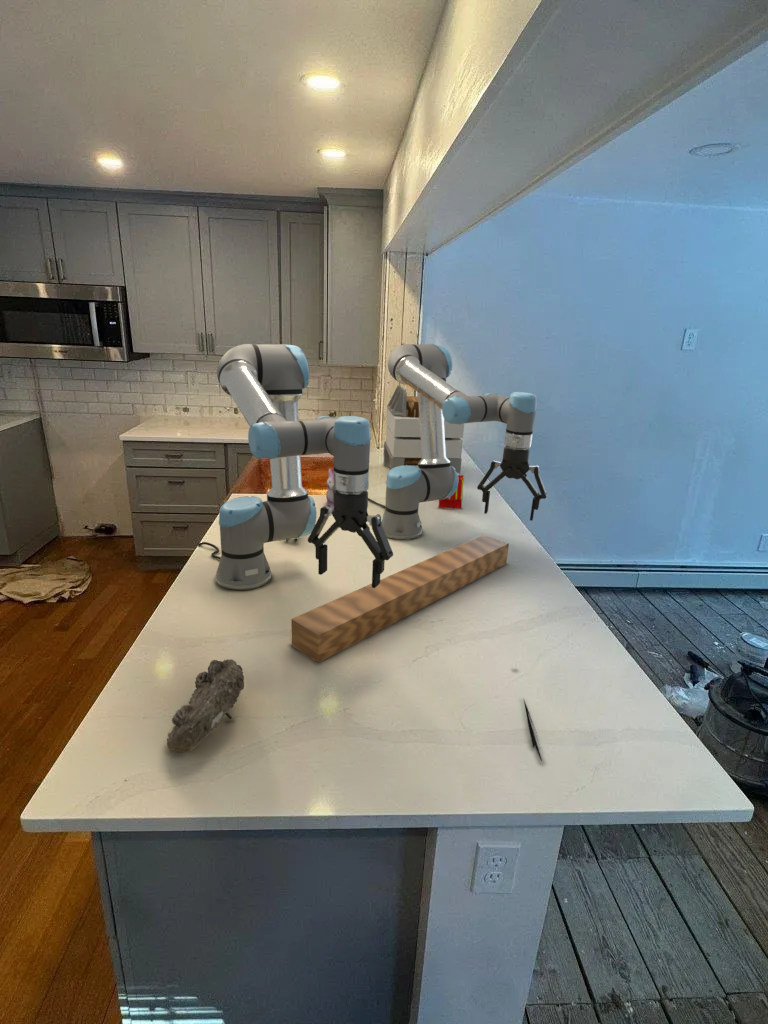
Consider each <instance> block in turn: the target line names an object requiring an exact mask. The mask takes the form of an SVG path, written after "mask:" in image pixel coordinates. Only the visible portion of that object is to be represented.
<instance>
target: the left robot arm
mask: <svg viewBox="0 0 768 1024" xmlns="http://www.w3.org/2000/svg"><path fill="white" fill-rule="evenodd" d="M216 377H217V381H218V384H219V386H220V387H221V389H222V390H223V392H224V393H226V395H228V396H230V397H231V398H232V399H233V402H234V403H235V405H236V406H237V408H238V409H239V411H240V413H241V415H242V416H243V418H244V419H245V421H246V423H247V425H248V426H249V428H248V432H247V441H248V446H249V449H250V453H251V455H252V456H253V457H254V458H256V459H269V465H270V466H269V467H270V482H271V488H270V489H269V490H268V492H267V493H266V501H263V500H262V499H261V497H259V496H254V495H251V496H248V495H245V496H244V495H243V496H238V497H234V498H232V499H229V500H227V501H225V502H224V503H223V504H221V506H220V508H219V512H218V514H219V515H218V526H219V536H220V537H219V538H220V548H219V547H218V546H217V545H215V544H214V543H211V542H207V541H201V542H202V543H201V542H199V543H197V547H200V546H202V545H206V546H210V547H212V548H213V549H215V551H213V552H211V554H210V556H211V557H212V558H213V559H217V560H219V562H218V565H217V568H216V573H215V580H216V583H217V584H218V586H220V587H222V588H224V589H226V590H232V591H249V590H253V589H257V588H260V587H263V586H265V585H266V584H268V583H269V582H270V581H271V578H272V571H271V566H270V564H269V562H268V560H267V556H266V554H265V551H264V550H265V549H264V548H265V547H264V544H265V543H272V542H278V541H286V539H289V540H292V539H294V540H295V539H297V540H298V539H300V538H304V537H307V536H308V538H307V543H309V544H313V545H314V547H315V559H316V560H318V569H317V570H318V575H320V576H322V575H323V574H325V573H326V572H327V571H328V544H325V543H326V542H327V541H328V540H329V539H330V538H331V537H332V535H334V534H335V533H336V531H338V529H339V528H340V529H341V531H343V532H347V531H348V532H350V533H353V534H354V533H356V534H357V535H358V536H359V537H360V538H361V539H362V541H363V542H364V543H365V545H366V546H367V548H368V550H369V551H370V552H371V554H372V555H373V557H374V559H373V560H372V570H371V571H372V573H371V584H372V588H376V587H377V586H378V585H379V584H380V580H381V575H382V573H384V571H385V563H386V562H385V561H388V560H390V559H391V558H392V557H393V556H394V552H393V550H392V547H391V545H390V541H389V540H388V539H389V538H387V537H386V534H385V532H384V529H383V527H382V524H381V522H382V516H381V514H379V513H378V514H375V515H371V514H369V513H368V507H369V500H368V498H369V491H368V489H369V484H370V483H369V481H370V479H369V478H370V475H369V474H370V473H369V472H370V471H369V470H370V454H371V453H370V452H371V440H372V439H371V438H372V435H371V423H370V421H369V419H368V418H366V417H363V416H362V417H360V416H356V415H344V416H343V415H342V416H339V417H333V416H327V415H321V416H318V417H317V418H315V419H308V420H299V405H298V401H299V400H300V399H301V397H302V396H303V394H304V393H303V390H304V389H306V388H307V387H308V385H309V383H310V368H309V363H308V360H307V356H306V355H305V353H304V351H303V350H302V349H301V348H300V347H299V346H297V345H294V344H285V343H281V344H278V343H277V344H276V343H275V344H274V343H273V344H272V343H271V344H262V343H261V344H257V343H256V344H251V343H244V344H239V345H236V346H234V347H232V348H230V349H229V350H227V351H226V352H225V353H224V355H223V356H222V357H221V358H220V360H219V362H218V365H217V369H216ZM325 454H329V455H331V456H333V473H334V488H335V490H334V492H333V506H334V508H331V507H330V505H326V504H325V505H324V506H322V507H321V508H320V510H319V516H318V518H317V507H316V501H315V500H314V498H313V497H312V496H310V495H309V492H308V490H307V489H306V488H304V486H303V477H302V460H301V458H302V456H314V455H325ZM330 516H332V517H333V519H334V522H333V523H332V524H331V525H330V527H328V529H327V530H326V531H324V533H323V534H322V535H321V536H320V534H321V533H322V531H323V529H324V527H325V525H326V523H327V521H328V519H329V517H330ZM367 522H368V523H369V524H368V523H367ZM369 526H370V527H371V529H370V527H369ZM371 530H372V532H371ZM372 533H373V534H372ZM219 552H220V553H221V554H220V555H221V556H219V555H216V554H218V553H219Z"/></svg>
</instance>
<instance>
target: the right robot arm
mask: <svg viewBox="0 0 768 1024" xmlns="http://www.w3.org/2000/svg"><path fill="white" fill-rule="evenodd" d="M450 353H451V352H449V349H447V348H446V347H445V346H444V345H441V344H434V343H418V344H417V343H416V344H413V343H412V344H411V343H405V344H400V345H399V346H397V347H395V348H394V349H393V350H392V351H391V353H390V354H389V356H388V359H387V369H388V373H389V374H390V375H391V377H392V379H394V380H395V381H396V382H397V383H399V384H401V385H406V386H409V387H410V388H411V389H413V390H414V391H415V392H417V396H418V405H419V421H420V437H421V453H422V459H421V460H420V462H419V463H418V466H412V465H408V466H407V465H404V466H398V467H395V468H392V469H391V470H390V469H389V470H388V472H387V475H386V479H385V504H381V503H379V502H378V501H375V500H373V499H371V498H369V497H368V502H371V503H374V504H375V505H377V506H380V507H382V508H384V513H383V515H382V518H381V524H382V527H383V529H384V532H385V534H386V537H387V539H389V540H395V541H410V540H415V539H418V538H420V537H421V536H422V535H423V525H422V524H423V523H422V520H421V518H420V515H419V507H420V506H419V505H420V503H426V502H432V501H433V502H434V501H439V500H442V499H445V498H449V497H451V496H452V495H453V494H454V493H455V492H456V490H457V487H458V473H457V472H456V469H455V468H454V467H452V466H451V462H450V460H448V459H447V458H446V449H445V431H444V418H445V420H446V421H447V422H448V423H450V424H463V423H464V424H473V423H487V422H499V423H503V424H506V428H505V436H504V447H503V453H502V460H501V461H498V460H496V459H493V460H491V462H490V466H489V469H488V470H487V472H486V473H485V475H484V476H483V478H481V481H480V482H479V483H478V485H477V487H476V489H477V490H479V491H480V492H482V496H481V497H482V498H481V502H482V503H484V512H483V514H485V515H487V514H488V512H489V506H490V497H491V491H490V490H491V489H492V488H493V487H494V486H495V485H496V484H498V483H499V482H500V481H501V480H503V478H507V479H515V480H520V479H521V480H522V482H523V483H524V484H525V486H526V487H527V489H528V490H529V492H530V493H531V494H532V496H533V497H532V502H531V509H530V517H529V521H534V515H535V510H536V511H539V507H540V500H545V499H546V498H547V496H548V493H547V490H546V488H545V485H544V482H543V480H542V477H541V474H540V466H539V464H535V465H530V463H529V462H530V456H531V449H530V448H531V447H532V440H533V433H534V426H535V418H536V413H537V404H538V402H537V401H538V400H537V399H538V398H537V396H536V394H534V393H531V392H524V391H514V392H512V393H511V394H510V395H509V396H506V395H501V394H498V393H491V392H487V393H484V394H483V395H467V394H465V393H464V392H462V391H461V390H459V389H458V388H456V387H455V386H453V385H452V384H450V383H448V382H447V378H449V377H450V375H451V374H452V370H453V359H452V356H451V354H450ZM498 467H500V469H501V472H500V473H499V474H498V475H497V476H495V478H493V479H492V480H491V481H490V482H489V483H488V484H486V483H487V481H488V480H489V478H490V476H491V475H492V474H493V472H494V470H497V468H498ZM529 471H530V472H531V473H532V474H533V475H534V479H535V481H536V484H537V487H538V489H537V488H536V486H535V485H534V484H533V482H532V481H531V479H530V478H529V475H528V474H527V473H528V472H529ZM485 484H486V485H485ZM538 490H539V491H538ZM539 492H540V493H539Z"/></svg>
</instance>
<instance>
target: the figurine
mask: <svg viewBox="0 0 768 1024" xmlns="http://www.w3.org/2000/svg"><path fill="white" fill-rule="evenodd" d="M326 487H327V490H326V493H325V497H326V503H325V505H330V507H331V508H334V506H333V492H334V490H335V488H334V470H333V469H332V468H329V469H328V479H327V480H326Z"/></svg>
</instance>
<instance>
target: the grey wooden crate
mask: <svg viewBox="0 0 768 1024" xmlns="http://www.w3.org/2000/svg"><path fill="white" fill-rule="evenodd" d="M407 394H408V393H407V390H406V389H404V388H403V387H402V385H399V384H398V385H397V386H396V388H395V390H394V392H393V394H392V395H391V398H390V400H389V402H388V404H387V405H386V413H385V414H386V415H385V423H386V428H385V438H384V442H383V466H384V467H388V468H389V471H390V470H391V469H392V468H395V467H398V466H404V465H406V466H408V465H412V466H417V467H418V463H419V462H420V460H421V459H422V453H421V437H420V421H419V405H418V395H417V396H415V395H414V396H413V395H412V396H411V395H407ZM464 429H465V423H463V424H450V423H448V422H447V421H446V420H445V418H444V431H445V449H446V458H447V459H448V460H450V462H451V466H452V467H454V468H455V469H456V472H457V473H458V474H459V475H462V474H461V472H462V461H463V460H462V453H463V442H464V441H463V440H462V439H463V438H464V431H465V430H464Z"/></svg>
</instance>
